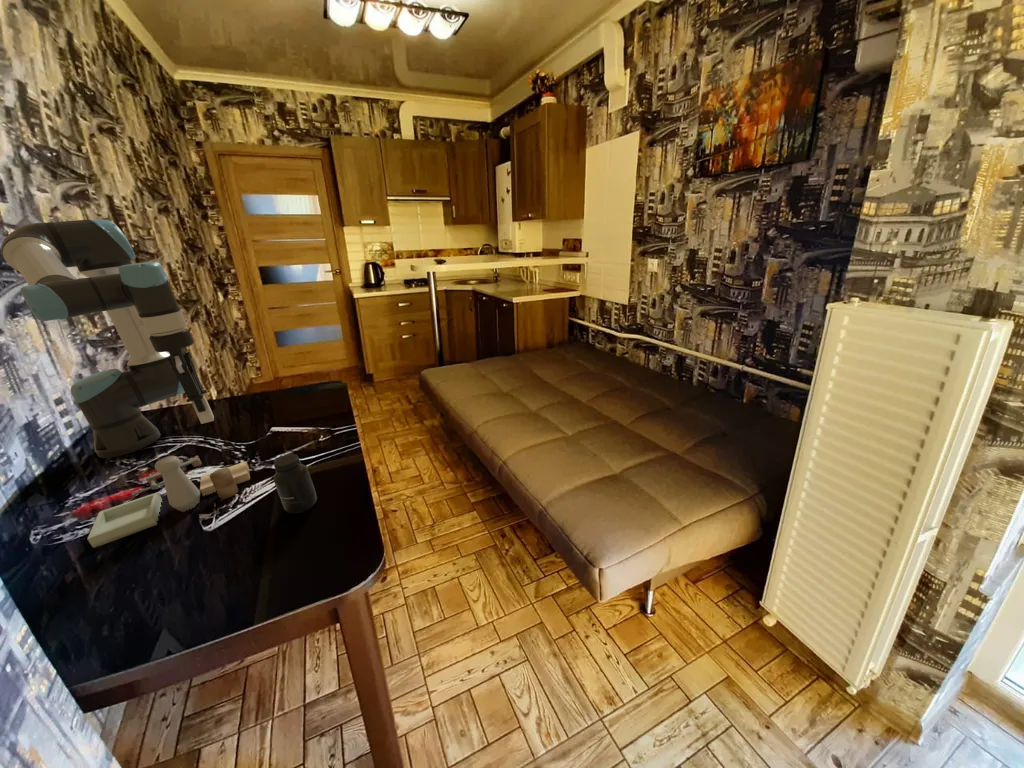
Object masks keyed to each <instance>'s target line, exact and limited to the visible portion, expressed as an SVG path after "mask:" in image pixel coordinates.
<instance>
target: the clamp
mask: <svg viewBox="0 0 1024 768" xmlns="http://www.w3.org/2000/svg"><path fill="white" fill-rule="evenodd" d="M179 460H180V466H179V467H180V469H181V470H182V471H183V472H184V473H185V471H187V466H188V465H190V464H191V465H192V467H193V468H195V467H198V466H201V465H202V460H201V459H200V456H199V455H195V456H194V457H190V458H189V460H187V461H183V459H179ZM161 476H162V473H159V472H158V471H157V472H156V473H153V474H152V473H149V474H148V476H146V480H147V482H148V484H149V485H150V486H149V487H145V488H144V489H141V490H138V491H135V492H131V496H132V497H135V496H136V495H138V494H140V493H144V492H146V491H149V490H157V489H158V487H159V486H162V485H164V481H162V482H159V483H158V480H157V477H161Z"/></svg>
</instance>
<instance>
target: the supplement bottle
mask: <svg viewBox="0 0 1024 768" xmlns="http://www.w3.org/2000/svg"><path fill="white" fill-rule="evenodd" d="M273 466H274V470H275V474H274V476H273V482H274V486H275V488H276V491H277V493H278V496H279V498H280V501H281V504H282V506H283V509H284V511H285V512H286V513H288V514H290V515H291V514H292V515H293V514H294V515H296V514H301V513H303V512H306V511H308V510H310V509H311V508H312V507H313V506H315V504H316V503H317V499H318V496H317V493H316V490H315V486H314V483H313V480H312V477H311V474H310V471H309V469H308V467H307V466H306V465H305V464H303V463H302V462H301V461H300V458H299V456H298V454H294V453H289V454H286V455H282V456H281V457H278V458H277V459H276V460H275V461H274V462H273Z"/></svg>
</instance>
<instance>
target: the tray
mask: <svg viewBox="0 0 1024 768" xmlns="http://www.w3.org/2000/svg"><path fill="white" fill-rule="evenodd" d="M162 500H163V498H162V497H161V494H160V493H159V492H158V491H157V492H155V493H151V494H148V495H145V496H142V497H140V498H136V499H134V500H130V501H127V502H125V503H122V504H119V505H116V506H113V507H110V508H107V509H103V510H101V511H99V512H98V514H97V516H96V517H95V518H96V519H95V521H94V523H93V526H92V527H91V530H90V532H89V534H88V536H87V541H88V543H89V544H90V545H91V547H92V548H93V549H95V548H98V547H101V546H103V545H105V544H108V543H111V542H114V541H117V540H119V539H122V538H124V537H127V536H130V535H133V534H136V533H138V532H141V531H143V530H147V529H148V528H152V527H155V526H157V525H158V522H157V521H159V518H158V516H159V517H160V514H159V512H160V513H161V509H160V507H161V508H162V505H161V502H162V503H163V501H162Z"/></svg>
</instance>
